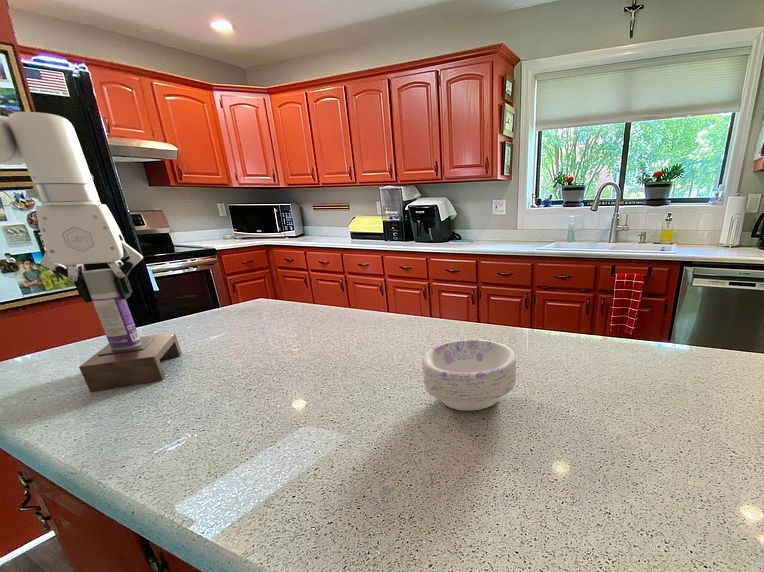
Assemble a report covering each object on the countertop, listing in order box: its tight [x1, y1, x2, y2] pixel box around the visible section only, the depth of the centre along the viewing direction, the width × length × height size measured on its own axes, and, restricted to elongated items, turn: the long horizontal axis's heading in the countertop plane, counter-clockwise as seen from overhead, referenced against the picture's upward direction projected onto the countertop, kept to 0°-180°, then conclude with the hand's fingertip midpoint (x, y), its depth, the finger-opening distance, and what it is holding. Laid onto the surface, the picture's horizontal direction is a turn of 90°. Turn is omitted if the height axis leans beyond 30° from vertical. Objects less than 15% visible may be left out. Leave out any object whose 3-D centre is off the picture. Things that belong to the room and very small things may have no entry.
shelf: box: [78, 332, 183, 393], centre depth 80 cm, size 11×16×5 cm
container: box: [82, 268, 141, 350], centre depth 76 cm, size 5×5×15 cm
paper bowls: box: [421, 339, 517, 412], centre depth 65 cm, size 15×15×8 cm
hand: (108, 298), depth 76 cm, fingers closed on container, 4 cm apart
